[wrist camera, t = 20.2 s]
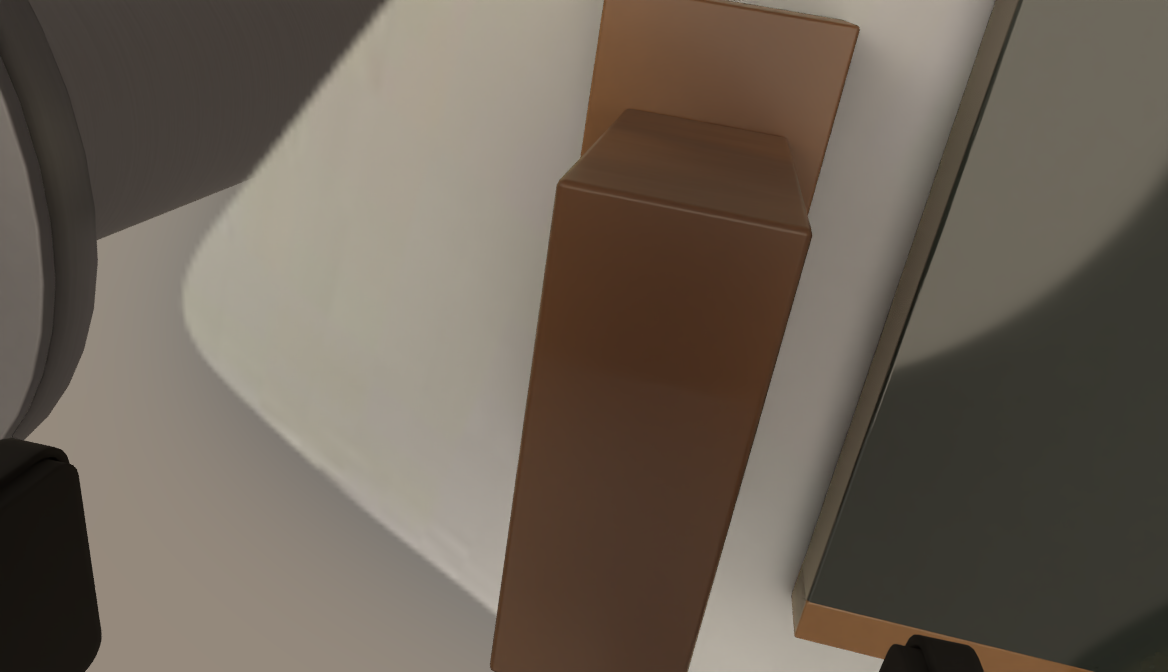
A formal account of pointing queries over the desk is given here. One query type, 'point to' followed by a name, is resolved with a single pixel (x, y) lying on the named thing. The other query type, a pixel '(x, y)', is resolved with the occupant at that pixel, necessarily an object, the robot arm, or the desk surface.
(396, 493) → the desk surface
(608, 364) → the brown stepped wooden block
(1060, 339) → the slate board
